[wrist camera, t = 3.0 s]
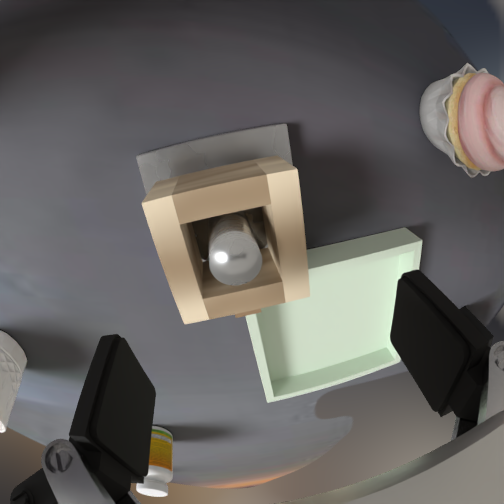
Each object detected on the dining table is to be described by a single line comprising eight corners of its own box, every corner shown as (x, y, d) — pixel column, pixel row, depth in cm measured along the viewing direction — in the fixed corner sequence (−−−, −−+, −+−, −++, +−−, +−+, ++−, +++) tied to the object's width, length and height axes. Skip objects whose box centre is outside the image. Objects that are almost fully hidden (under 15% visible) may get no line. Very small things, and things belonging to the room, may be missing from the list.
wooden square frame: (155, 181, 16) (141, 203, 12) (277, 155, 16) (297, 169, 13) (193, 303, 20) (193, 344, 16) (294, 281, 20) (311, 318, 17)
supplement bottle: (132, 422, 32) (126, 484, 24) (171, 425, 33) (171, 489, 25) (138, 439, 35) (135, 495, 26) (174, 442, 36) (175, 499, 27)
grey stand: (140, 154, 19) (96, 185, 11) (282, 122, 19) (332, 133, 11) (176, 276, 23) (167, 357, 16) (298, 249, 24) (340, 318, 16)
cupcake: (459, 59, 17) (543, 63, 8) (478, 149, 22) (555, 178, 13) (389, 72, 18) (485, 70, 9) (417, 177, 22) (501, 220, 13)
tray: (234, 265, 24) (238, 285, 21) (404, 227, 24) (422, 240, 22) (263, 383, 31) (267, 402, 28) (389, 346, 32) (399, 361, 29)
